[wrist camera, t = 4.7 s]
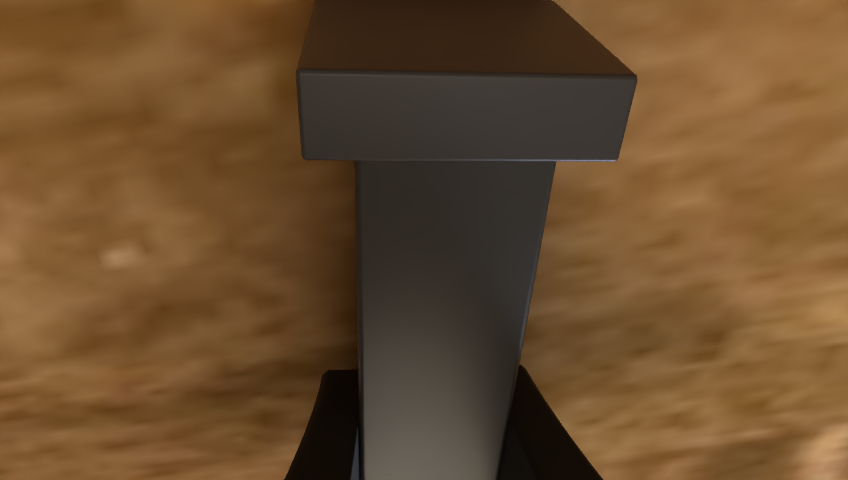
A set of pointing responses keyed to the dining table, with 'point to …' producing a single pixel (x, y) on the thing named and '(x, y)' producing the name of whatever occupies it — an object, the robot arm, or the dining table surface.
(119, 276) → the dining table surface
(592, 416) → the dining table surface
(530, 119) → the racket
